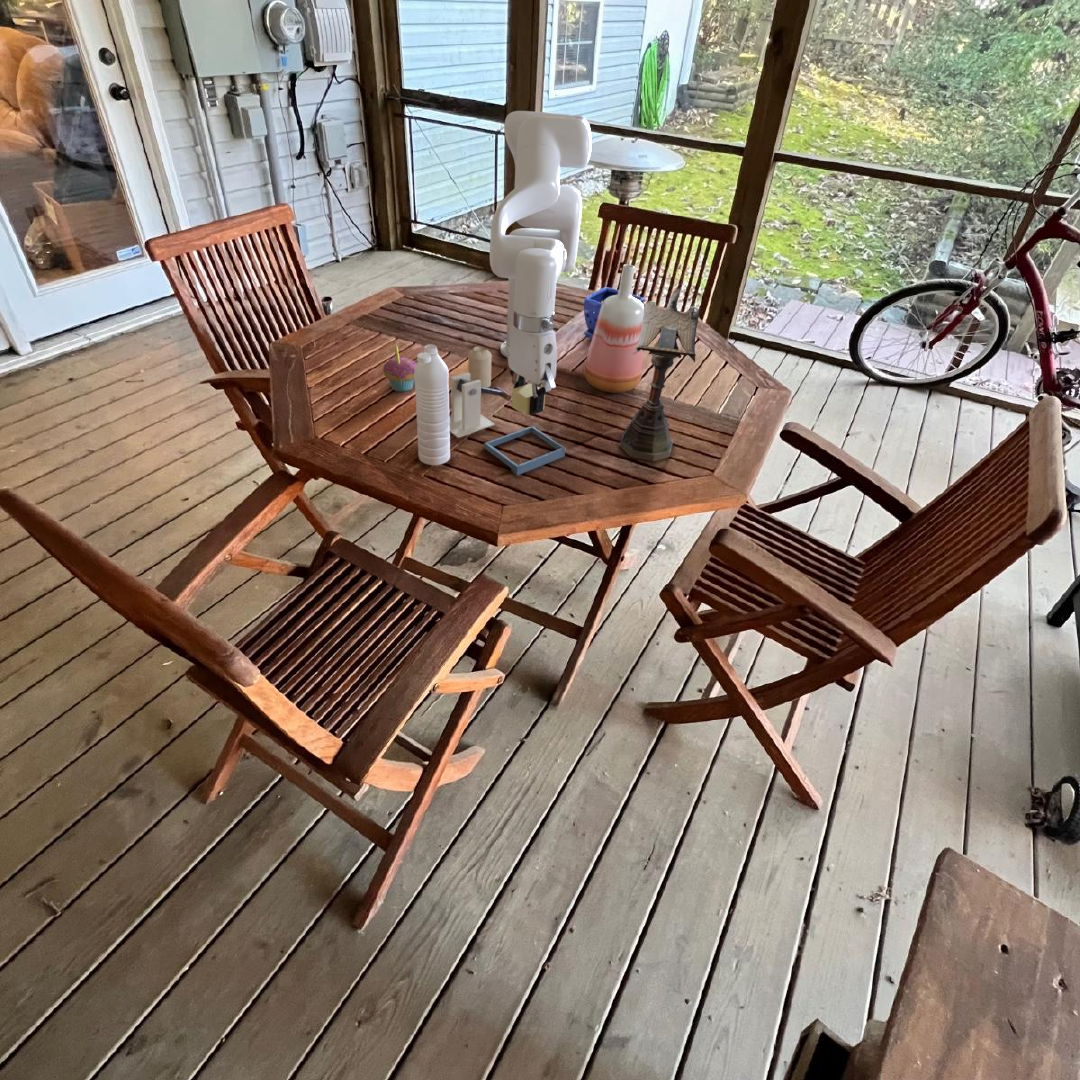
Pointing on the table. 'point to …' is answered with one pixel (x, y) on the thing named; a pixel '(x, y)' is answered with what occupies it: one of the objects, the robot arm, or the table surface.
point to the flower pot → (598, 307)
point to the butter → (522, 398)
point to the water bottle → (432, 407)
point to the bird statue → (659, 376)
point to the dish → (532, 463)
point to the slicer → (466, 407)
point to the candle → (480, 366)
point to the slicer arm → (487, 390)
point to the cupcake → (400, 372)
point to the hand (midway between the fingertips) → (527, 406)
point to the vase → (617, 341)
